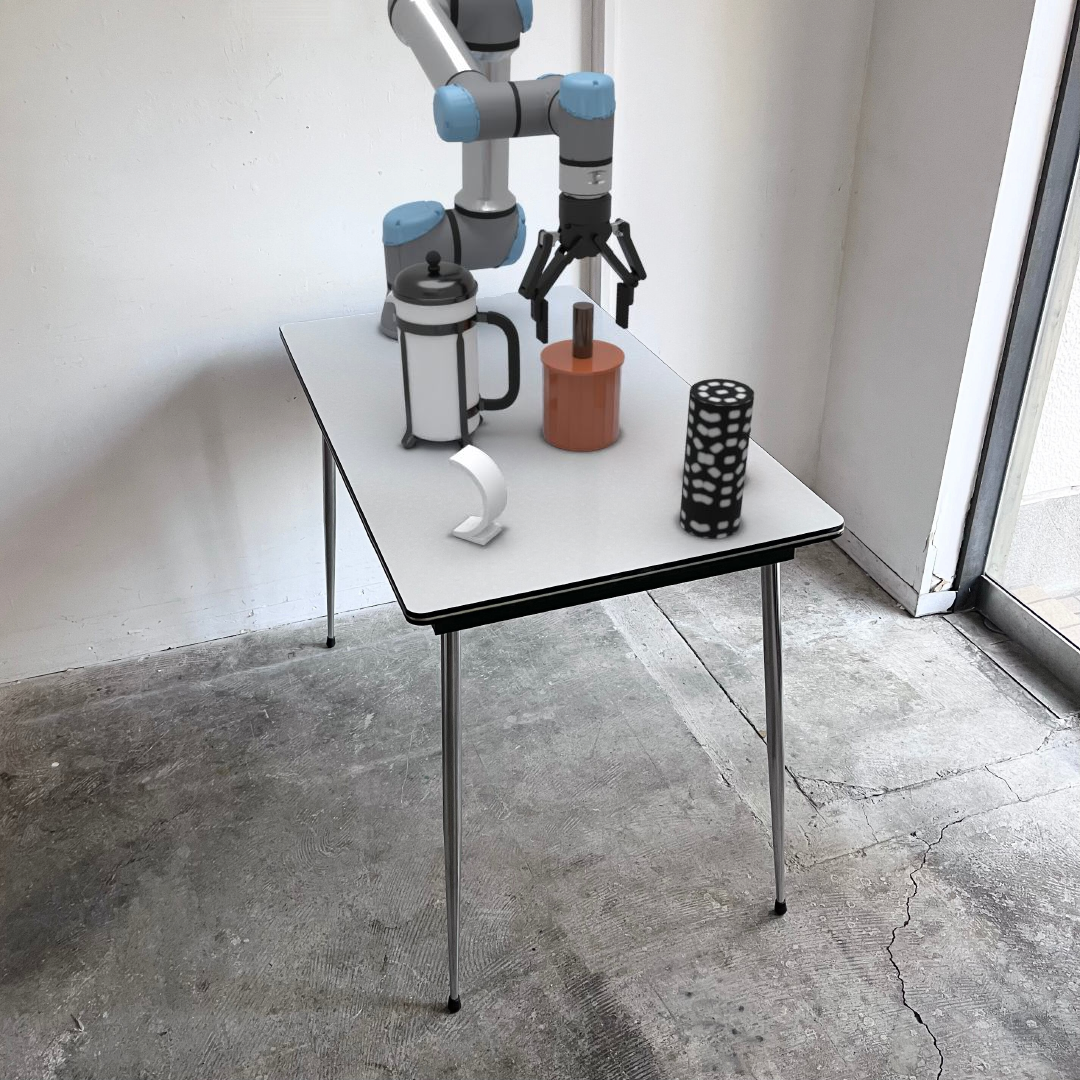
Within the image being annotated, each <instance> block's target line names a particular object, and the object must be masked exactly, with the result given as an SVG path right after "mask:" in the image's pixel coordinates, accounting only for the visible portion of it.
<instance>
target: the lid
mask: <svg viewBox="0 0 1080 1080" xmlns="http://www.w3.org/2000/svg"><path fill="white" fill-rule="evenodd" d="M594 325H595V305H594V303H592V302H589V301H577V302H575V303H573V304H572V328H571V329H572V330H571V332H572V337H571V339H564V340H559V341H556V342H553V343H551V344H549V345H547V346H545V347H544V348H543V349H542V350H541V351H540V353H539V354H540V355H539V357H540V362H541V365H542V364H543V365H544V366H545V367H547V368H548V369H550V370H552V371H555V372H558V373H562V374H567V375H574V376H593V375H600V374H605V373H609V372H612V371H614V370H616V369H618V368H619V367H621V366H622V367H623V365H624V363H625V360H626V359H625V358H626V356H625V351H624V350H622V348H621V347H619V346H618V345H615V344H613V343H610V342H607V341H604V340H599V339H594V331H595V329H594Z"/></svg>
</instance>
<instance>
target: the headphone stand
mask: <svg viewBox="0 0 1080 1080" xmlns="http://www.w3.org/2000/svg"><path fill="white" fill-rule="evenodd" d="M448 459H449V465H450V466H454V467H455V468H457V469H459V470H461V471H462V472H464V473H465V474H466V475H467V476H468V477H469V478H470V479H471V480H472V482H473V483H474V484H475V486H476V487H477V490H478V491H479V493H480V494H479V495H480V497H481V499H482V504H483V513H482V514H483V515H482V516H475V515H471V516H469V517H468V518H467V519H466V520H464V521H463V522H462V523H460V525H457V527H456V528H454V529H453V531H452V533H453V534H452V535H453V537H457V538H459V539H463V540H465V541H469V542H472V543H475V544H478V545H481V546H485V545H486V544H488V543H489V542H490V541H491V540H492V539H493V538H494V537H496V536H497V535H498V534H499V533H501V531H502V530H503V525H502V524H500V523H496V522H494V521H496V520H497V519H498V518H499V517H500V516H501V515H502V514H503V512H504V511H505V509H506V507H507V503H508V489H507V484H506V483H507V482H506V480H505V478H504V475H503V473H502V472H501V471H502V470H500V468H499V466H498V465H497V463H495V461H494V460H493V459H492V458H491V457H490V456H489V455H488V454H487V453H486V452H484V451H483V450H481V449H480V448H478V447H476V446H474V445H473V446H471V445H467V446H466V447H465V448H463V449H461V450H459V451H458V452H457V453H455V454H454V455H452V456H451V457H449V458H448Z"/></svg>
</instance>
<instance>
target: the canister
mask: <svg viewBox="0 0 1080 1080" xmlns="http://www.w3.org/2000/svg"><path fill="white" fill-rule="evenodd" d="M622 370H623V365H622V366H621V367H619V368H618V369H616V370H614V371H612V372H609V373H605V374H600V375H593V376H574V375H567V374H562V373H558V372H555V371H552V370H550V369H548V368H547V367H545V366H544V365H543V364H542V363H541V373H542V374H541V379H542V380H541V382H542V383H541V385H542V388H541V389H542V390H541V396H542V399H541V400H542V402H541V404H542V405H541V406H542V407H541V409H542V411H541V414H542V415H541V416H542V418H541V419H542V424H541V425H542V428H541V429H542V436H543V438H544V440H545V441H546V442H547V443H548V444H550V445H551V446H553V447H555V448H558V449H561V450H565V451H570V452H593V451H598V450H599V451H600V450H603V449H605V448H608V447H609V446H612V445H613V444H614V443H615V442H617V440H618V439H619V435H620V423H621V399H622V396H621V395H622V377H623V376H622V375H623V374H622V373H623V371H622Z"/></svg>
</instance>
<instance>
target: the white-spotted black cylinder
mask: <svg viewBox="0 0 1080 1080" xmlns="http://www.w3.org/2000/svg"><path fill="white" fill-rule="evenodd" d="M688 395H689V397H688V409H687V420H686V435H685V447H684V448H685V449H684V460H683V473H682V484H681V485H682V486H681V498H680V511H679V525H680V526H681V528H682V529H683V530H684V531H685V532H687V533H688V534H690V535H693V536H695V537H698V538H703V539H710V540H711V539H712V540H713V539H714V540H715V539H723V538H728V537H731V536H733V535H734V534H736V533H737V532H738V530H739V529H740V526H741V517H742V516H741V514H742V508H743V507H742V506H743V498H744V488H745V481H746V474H747V473H746V471H747V462H748V455H749V446H750V439H751V438H750V437H751V432H750V429H751V430H752V420H753V410H754V401H755V391H754V389H753V388H752V387H750V386H749V385H747V384H746V383H743V382H742V381H741V382H740V381H738V380H735V379H729V378H708V379H703V380H700V381H697V382H695V383H694V384H692V385H691V386H690V388H689V394H688Z"/></svg>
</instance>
